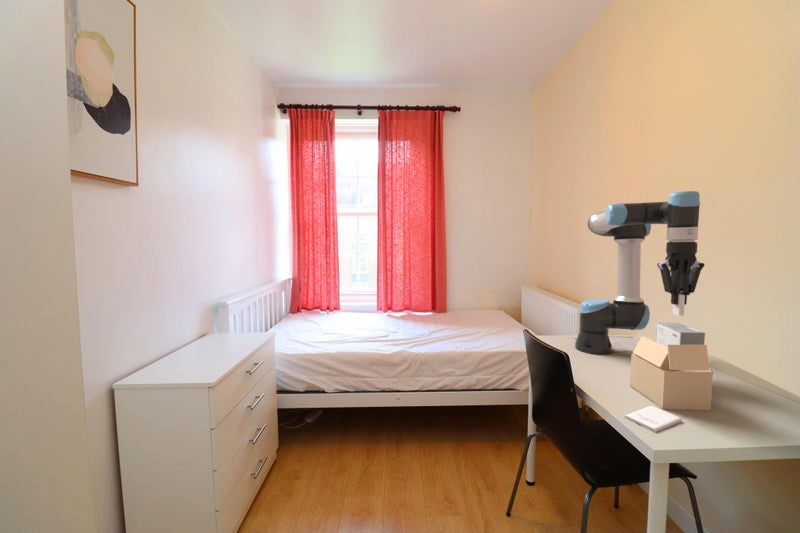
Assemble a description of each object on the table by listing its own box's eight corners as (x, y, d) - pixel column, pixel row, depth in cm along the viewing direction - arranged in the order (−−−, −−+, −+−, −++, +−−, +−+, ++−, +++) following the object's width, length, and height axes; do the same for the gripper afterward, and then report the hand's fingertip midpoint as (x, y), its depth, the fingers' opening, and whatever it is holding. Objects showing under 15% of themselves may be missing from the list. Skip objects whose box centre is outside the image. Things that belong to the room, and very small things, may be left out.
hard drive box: (702, 390, 115) (706, 333, 113) (677, 388, 117) (680, 332, 115) (675, 372, 130) (678, 321, 129) (653, 371, 132) (655, 321, 130)
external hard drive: (681, 423, 96) (654, 434, 91) (650, 410, 104) (624, 419, 99) (681, 418, 96) (654, 428, 91) (650, 405, 104) (624, 414, 99)
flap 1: (633, 353, 116) (632, 352, 116) (642, 336, 116) (641, 335, 116) (660, 367, 103) (659, 367, 103) (671, 348, 103) (670, 348, 103)
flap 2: (667, 344, 102) (667, 344, 102) (705, 344, 102) (706, 344, 101) (669, 369, 102) (670, 369, 101) (708, 369, 101) (709, 370, 100)
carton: (629, 385, 119) (630, 352, 118) (672, 386, 118) (674, 352, 117) (662, 409, 103) (664, 370, 102) (713, 410, 102) (715, 370, 101)
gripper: (668, 241, 103) (665, 317, 104) (713, 240, 102) (709, 317, 104) (652, 241, 110) (649, 312, 112) (693, 240, 109) (690, 311, 111)
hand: (678, 314), depth 108 cm, fingers closed
